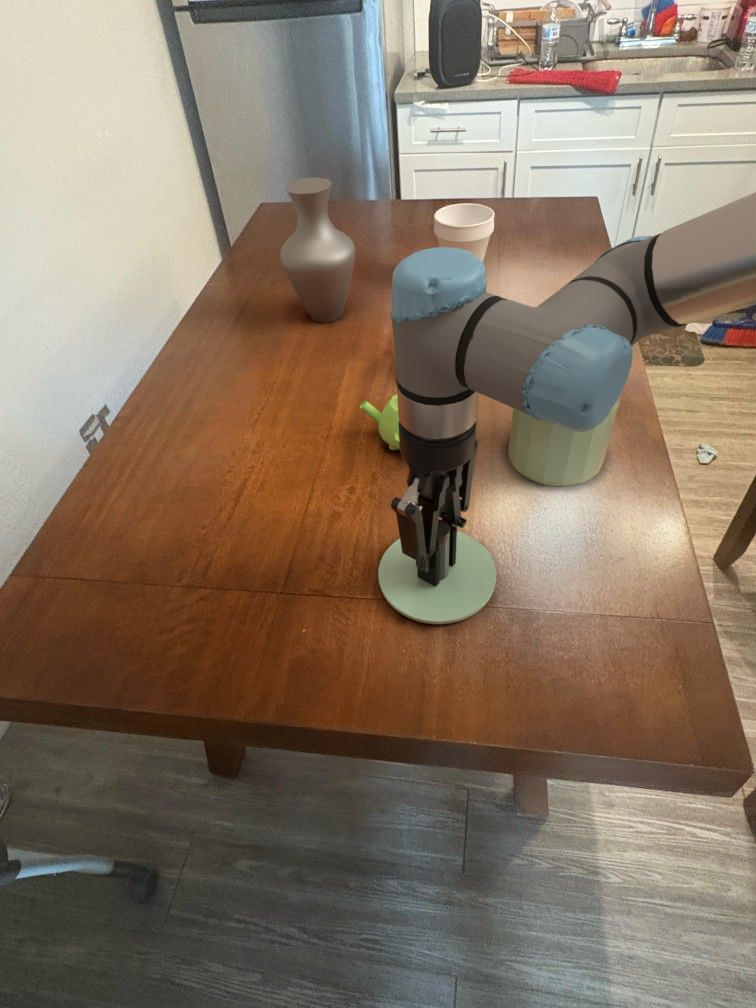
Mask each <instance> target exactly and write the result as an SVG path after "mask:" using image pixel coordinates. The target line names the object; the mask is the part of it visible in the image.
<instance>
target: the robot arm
mask: <svg viewBox="0 0 756 1008" xmlns="http://www.w3.org/2000/svg"><path fill="white" fill-rule="evenodd" d="M487 283H488V280H487V279H486V268H485V264H484V261H483V262H482V261H481V260H480V259H479V258H477V257H475V256H474V254H473V253H471V252H469V251H466V250H463V249H459V248H451V247H439V246H438V247H430V248H426V249H421V250H417V251H415V252H412V253H411V254H410V255H408V256H406V257H404V258H403V259H401V260H400V261H399V262H398V264H397V265H396V266H395V268H394V270H393V272H392V277H391V311H390V313H389V315H390V319H391V327H392V335H393V336H392V337H393V346H394V361H395V380H396V381H395V382H396V383H395V384H396V394H397V396H398V416H399V423H398V427H399V446H400V449H399V452H400V454H401V456H402V458H403V459H404V461H405V463H406V464H407V467H408V475H407V477H406V485H407V487H408V488H407V490H406V491H405V493H404V495H403V496H402V497H401V498H400V497H398V496H395V497H393V499H392V500H391V503H390V508H391V509H392V510H393V511H394V513H395V514H396V520H397V521H396V522H397V529H398V534H399V535H398V536H399V538H400V541H401V547H402V553H403V554H405V555H407V556H409V557H411V558H413V559H414V560H416V567H417V576H418V577H419V578H420V579H422V580H424V581H426V582H428V583H430V584H431V585H433V586H435V587H436V586H437V585H438V584H439V566H440V548H438V547H436V546H435V545H436V536H437V527H438V519H441V520H444V521H445V522H447V523H448V524H449V526H450V548H449V565H450V566H452V567H453V566H454V564H455V563H456V541H457V531H458V527H459V528H461V529H464V527H465V526H466V524H467V521H468V520H467V519H466V518H464V517H462V512H463V513H466V512H467V511H469V509H470V502H471V494H472V484H473V477H474V476H473V475H474V467H475V459H476V455H477V452H478V449H479V446H480V440H478V439H476V437H477V436H476V434H477V419H478V402H479V400H478V399H479V394H480V395H483V396H485V397H487V398H489V399H492V400H493V401H497V402H498V403H501V404H503V405H505V406H508V407H510V408H512V409H513V408H514V409H517V410H519V411H521V412H523V413H526V414H528V415H530V416H531V417H532V418H535V419H536V420H539V421H545V422H550V423H553V424H556V425H559V426H562V427H564V428H567V429H570V430H573V431H576V432H586V431H589V430H592V429H594V428H595V427H597V426H598V425H600V424H601V423H602V422H603V421H604V420H605V418H606V417H607V416H608V415H609V413H610V411H611V409H612V407H613V405H614V404H615V403H616V402H617V401H618V399H619V397H620V395H621V393H622V394H623V391H624V388H625V386H626V384H627V381H628V379H629V376H630V372H631V368H632V363H633V356H634V355H633V346H634V345H635V344H636V343H638V341H640V340H642V339H644V338H647V337H649V336H653V335H656V334H659V333H663V332H666V331H670V330H673V329H677V328H680V327H683V326H684V327H685V326H687V325H689V324H692V323H696V322H700V321H702V320H707V319H710V318H713V317H717V316H720V315H724V314H728V313H731V312H735V311H738V310H742V309H745V308H748V307H752V306H756V191H755V192H753V193H750V194H747V195H745V196H743V197H741V198H738V199H736V200H733V201H731V202H729V203H727V204H724V205H722V206H720V207H717V208H715V209H713V210H711V211H708V212H706V213H703V214H700V215H698V216H696V217H694V218H691V219H689V220H687V221H685V222H682V223H679V224H678V225H674V226H673V227H671V228H668V229H666V230H663V231H662V232H660V233H658V234H655V235H640V236H634V237H632V238H629V239H626V240H625V241H623V242H621V243H619V244H617V245H615V246H613V247H611V248H610V249H607V250H606V251H604V252H603V253H602V254H601V255H600V256H599V257H598V258H597V259H596V260H595V261H594V262H593V263H591V264H590V265H589V266H588V267H587V268H585V269H584V270H583V271H582V272H580V273H579V274H578V275H577V276H575V277H574V278H573V279H571V280H570V281H569V282H568V283H566V284H565V285H564V286H562V287H561V288H560V289H559V290H557V291H555V292H554V293H553V294H552V295H550V296H549V297H548V298H546V299H545V300H544V301H543V302H541V303H540V304H538V305H537V306H531V305H527V304H524V303H521V302H518V301H515V300H512V299H507V298H504V297H502V296H499V295H496V294H493V293H490V292H488V291H487V285H488V284H487ZM621 396H622V395H621Z"/></svg>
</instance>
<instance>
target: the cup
mask: <svg viewBox="0 0 756 1008" xmlns="http://www.w3.org/2000/svg"><path fill="white" fill-rule="evenodd" d="M495 215H496V214H495V212H494V210H493V209H492V208H491V207H489V206H486V205H484V204H480V203H468V202H466V203H464V202H463V203H455V204H448V205H446V206H443V207H441V208H439V209H438V210H436V211H435V212H434V214H433V218H434V220H433V233H434V235H435V236H436V239H437V240H436V241H437V244H438V247H451V248H459V249H463V250H466V251H469V252H471V253H473V254H474V256H475V257H477V258H479V259H480V260H481V261H482V262H483V263H484V260H485V257H486V252H487V249H488V245H489V242H490V238H491V235H492V234H493V232H494V230H495Z"/></svg>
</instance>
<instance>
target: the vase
mask: <svg viewBox="0 0 756 1008" xmlns="http://www.w3.org/2000/svg"><path fill="white" fill-rule="evenodd" d="M332 187H333V182H332V181H331V180H330V179H329V178H323V177H317V176H315V177H303V178H300V179H297V180H293V181H290V182H289V183H288V184H287V185H286V186H285V187H284V189H285V191H286V192H287V194H288V196H289V198H290V200H291V203H292V204H293V207H294V209H295V212H296V215H297V224H296V228H295V231H294V233H292V235H291V236H290V237H289V238H288V239H287V240H286V241H285V242H284V244H283V245H282V247H281V249H280V253H279V254H280V261H281V264H282V267H283V269H284V272H285V274H286V276H287V278H288V280H289V282H290V283H291V287H292V288H293V290H294V292H295V293H296V296H297V298H298V299H299V301H300V302H301V305H302V306H303V308H304V309H305V310H306V312H307V314H308V315H309V317H310V318H311V319H312V321H314V322H318V323H330V322H331V323H332V322H334V321H337V320H338V319H340V318H341V317H342V315H343V313H344V309H345V306H346V303H347V299H348V296H349V292H350V287H351V282H352V278H353V272H354V268H355V262H356V246H355V243H354V241H353V240H352V239H351V238H350V236H349V235H347V234H345V233H344V232H342V231H341V230H339V229H337V228H336V227H335V226H334V224H332V222H331V219H330V217H329V213H328V206H329V199H330V194H331V190H332Z"/></svg>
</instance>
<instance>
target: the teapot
mask: <svg viewBox="0 0 756 1008" xmlns="http://www.w3.org/2000/svg"><path fill="white" fill-rule="evenodd" d="M359 409H360V410H361V411H362V412H363V413H365V414H366V415H367V416H368V417H370V418H371V420H373V421H374V422H376V423H377V424H378V433H379V435H380V438H381V440H383V441H384V442H385V444H388V448H389V450H392V451H397V450H400V446H399V427H398V423H399V416H398V396H397V393H396V394H394V395H393V396H392V397H391V398H390V399H389V400H388V402H387V403H386V405H385V406H384V407H383V409H382V412H381V411H379V410H378V409H377V408H376V407H374V405H372V404H371V403H370V402H368V400H364V401H362V403H361V404H360V405H359Z"/></svg>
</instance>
